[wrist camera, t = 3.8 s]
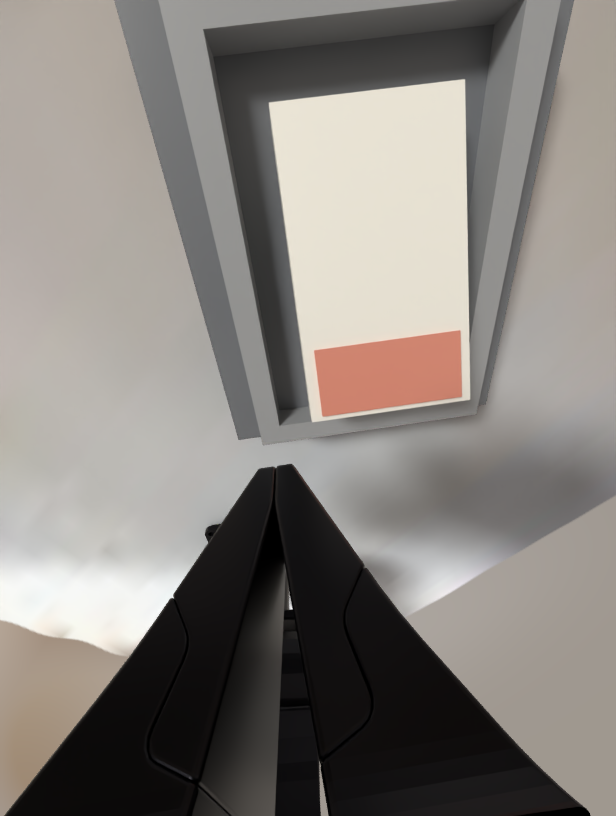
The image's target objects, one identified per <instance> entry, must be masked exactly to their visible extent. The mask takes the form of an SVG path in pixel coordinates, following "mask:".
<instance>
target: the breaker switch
mask: <svg viewBox="0 0 616 816" xmlns="http://www.w3.org/2000/svg"><path fill="white" fill-rule="evenodd" d="M269 111H270V121H271V131H272V139H273V146H274V153H275V161H276V168H277V175H278V182H279V190H280V197H281V204H282V212H283V219H284V226H285V234H286V241H287V248H288V256H289V263H290V270H291V278H292V285H293V292H294V300H295V307H296V314H297V322H298V329H299V336H300V344H301V351H302V358H303V366H304V373H305V380H306V388H307V395H308V402H309V410H310V416H311V420H312V422H319V421H326V420H333V419H340V418H347V417H354V416H361V415H368V414H375V413H382V412H389V411H396V410H402V409H409V408H416V407H423V406H430V405H437V404H444V403H451V402H458V401H465V400H470V349H469V289H468V229H467V168H466V108H465V79H462V80H453V81H445V82H436V83H428V84H420V85H411V86H403V87H395V88H386V89H378V90H370V91H361V92H353V93H344V94H336V95H328V96H319V97H311V98H303V99H294V100H286V101H278V102H269Z"/></svg>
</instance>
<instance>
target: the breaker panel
mask: <svg viewBox="0 0 616 816" xmlns="http://www.w3.org/2000/svg"><path fill="white" fill-rule="evenodd" d="M114 1H115V5H116V8H117V12H118V15H119V19H120V22H121V26H122V29H123V33H124V37H125V40H126V44H127V47H128V51H129V54H130V58H131V61H132V65H133V68H134V72H135V75H136V79H137V82H138V86H139V90H140V93H141V97H142V100H143V104H144V107H145V111H146V114H147V118H148V121H149V125H150V128H151V132H152V135H153V139H154V143H155V146H156V150H157V153H158V157H159V160H160V164H161V167H162V171H163V174H164V178H165V181H166V185H167V188H168V192H169V195H170V199H171V203H172V206H173V210H174V213H175V217H176V220H177V224H178V227H179V231H180V234H181V238H182V241H183V245H184V248H185V252H186V256H187V259H188V263H189V266H190V270H191V273H192V277H193V280H194V284H195V287H196V291H197V294H198V298H199V301H200V305H201V309H202V312H203V316H204V319H205V323H206V326H207V330H208V333H209V337H210V340H211V344H212V347H213V351H214V354H215V358H216V361H217V365H218V369H219V372H220V376H221V379H222V383H223V386H224V390H225V393H226V397H227V400H228V404H229V407H230V411H231V414H232V418H233V422H234V425H235V429H236V432H237V436H238V439H239V440H242V439H248V438H255V437H261V439H262V444H263V445H269V444H275V443H282V442H289V441H296V440H303V439H310V438H317V437H324V436H331V435H338V434H344V433H351V432H358V431H365V430H372V429H379V428H386V427H393V426H400V425H407V424H414V423H420V422H427V421H434V420H441V419H448V418H455V417H462V416H469V415H476V414H477V409H478V405H484V404H486V401H487V396H488V391H489V387H490V382H491V378H492V373H493V369H494V364H495V359H496V355H497V350H498V346H499V341H500V336H501V332H502V327H503V323H504V318H505V314H506V309H507V304H508V300H509V295H510V291H511V286H512V282H513V277H514V272H515V268H516V263H517V259H518V254H519V250H520V245H521V240H522V236H523V231H524V227H525V222H526V217H527V213H528V208H529V204H530V199H531V195H532V190H533V185H534V181H535V176H536V172H537V167H538V163H539V158H540V153H541V149H542V144H543V140H544V135H545V131H546V126H547V121H548V117H549V112H550V108H551V103H552V98H553V94H554V89H555V85H556V80H557V76H558V71H559V66H560V62H561V57H562V53H563V48H564V44H565V39H566V34H567V30H568V25H569V21H570V16H571V12H572V7H573V2H574V0H114ZM462 79H465V108H466V168H467V229H468V289H469V349H470V400H465V401H458V402H451V403H444V404H437V405H430V406H423V407H416V408H409V409H402V410H396V411H389V412H382V413H375V414H368V415H361V416H354V417H347V418H340V419H333V420H326V421H319V422H312V420H311V416H310V410H309V402H308V395H307V388H306V380H305V373H304V366H303V358H302V351H301V344H300V336H299V329H298V322H297V314H296V307H295V300H294V292H293V285H292V278H291V270H290V263H289V256H288V248H287V241H286V234H285V226H284V219H283V212H282V204H281V197H280V190H279V182H278V175H277V168H276V161H275V153H274V146H273V139H272V131H271V121H270V111H269V102H278V101H286V100H294V99H303V98H311V97H319V96H328V95H336V94H344V93H353V92H361V91H370V90H378V89H386V88H395V87H403V86H411V85H420V84H428V83H436V82H445V81H453V80H462Z"/></svg>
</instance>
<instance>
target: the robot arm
mask: <svg viewBox="0 0 616 816" xmlns="http://www.w3.org/2000/svg"><path fill="white" fill-rule="evenodd" d="M205 536H206V538H207V541H208V544H207V546H206V547H205V549H204V550H203V551H202V553H201V554H200V556H199V557H198V559H197V560H196V562H195V563H194V565H193V566H192V568H191V569H190V571H189V572H188V574H187V575H186V576H185V578H184V579H183V581H182V582H181V584H180V585H179V587H178V588H177V590H176V591H175V593H174V594H173V597H174V598H171V599H170V600H169V601H168V603H167V604H166V606H165V607H164V609H163V610H162V612H161V613H160V614H159V616H158V617H157V619H156V620H155V622H154V623H153V625H152V626H151V627H150V629H149V630H148V632H147V633H146V634H145V636H144V637H143V639H142V640H141V641H140V643H139V644H138V646H137V647H136V648H135V650H134V651H133V653H132V654H131V655H130V657H129V658H128V659H127V661H126V662H125V663H124V665H123V666H122V667H121V668H120V670H119V671H118V672H117V674H116V675H115V676H114V677H113V679H112V680H111V681H110V683H109V684H108V685H107V687H106V688H105V689H104V691H103V692H102V693H101V694H100V696H99V697H98V698H97V700H96V701H95V702H94V703H93V705H92V706H91V707H90V708H89V710H88V711H87V712H86V714H85V715H84V716H83V717H82V718H81V720H80V721H79V722H78V723H77V725H76V726H75V727H74V728H73V730H72V731H71V732H70V734H69V735H68V736H67V737H66V739H65V740H64V741H63V742H62V744H61V745H60V746H59V747H58V749H57V750H56V751H55V752H54V754H53V755H52V756H51V758H50V759H49V760H48V761H47V763H46V764H45V765H44V766H43V767H42V769H41V770H40V771H39V772H38V774H37V775H36V776H35V778H34V779H33V780H32V781H31V783H30V784H29V785H28V786H27V788H26V789H25V790H24V791H23V793H22V794H21V795H20V796H19V798H18V799H17V800H16V801H15V803H14V804H13V805H12V806H11V808H10V809H9V810H8V811H7V813H6V814H5V815H4V816H321V812H320V785H319V784H320V782H319V761H320V764H321V773H322V779H323V785H324V791H325V797H326V803H327V808H328V815H329V816H590V813H589V811H588V810H587V809H586V808H585V807H583V806H582V805H581V804H580V803H578V802H577V801H576V800H575V799H574V798H573V797H571V796H570V795H569V794H568V793H567V792H566V791H565V790H563V789H562V788H561V787H560V786H559V785H558V784H557V783H556V782H555V781H554V780H553V779H552V778H551V777H550V776H548V775H547V774H546V773H545V772H544V771H543V770H542V769H541V768H540V767H539V766H538V765H537V764H536V763H535V762H534V761H533V760H532V759H531V758H530V757H529V756H528V755H527V754H526V753H525V752H524V751H523V750H522V749H521V748H520V747H519V746H518V745H517V744H516V743H515V741H514V740H513V739H512V738H511V737H510V736H509V735H508V734H507V733H506V732H505V731H504V730H503V728H501V726H500V725H499V724H498V723H497V722H496V721H495V720H494V718H493V717H492V716H491V715H490V714H489V713H488V712H487V711H486V710H485V709H484V707H483V706H482V705H481V704H480V703H479V702H478V701H477V699H476V698H475V697H474V696H473V695H472V694H471V693H470V692H469V691H468V689H467V688H466V687H465V686H464V685H463V684H462V683H461V682H460V680H459V679H458V678H457V677H456V676H455V675H454V674H453V673H452V671H451V670H450V669H449V668H448V667H447V666H446V665H445V664H444V663H443V661H442V660H441V659H440V658H439V657H438V656H437V655H436V654H435V652H434V651H433V650H432V649H431V648H430V647H429V646H428V645H427V644H426V642H425V641H424V640H423V639H422V638H421V637H420V635H419V634H418V633H417V632H416V631H415V630H414V628H413V627H412V626H411V625H410V624H409V622H408V621H407V620H406V619H405V618H404V617H403V615H402V614H401V613H400V612H399V611H398V609H397V608H396V607H395V605H394V604H393V603H392V601H391V600H390V599H389V597H388V596H387V595H386V594H385V592H384V591H383V590H382V588H381V587H380V586H379V584H378V583H377V581H376V580H375V579H374V577H373V576H372V574H371V573H370V572H369V570H368V569H367V568H365V566H364V564H363V562H362V561H361V559H360V558H359V557H358V555H357V554H356V552H355V551H354V550H353V548H352V547H351V545H350V544H349V542H348V541H347V540H346V538H345V537H344V535H343V534H342V533H341V531H340V530H339V528H338V527H337V526H336V524H335V523H334V521H333V520H332V519H331V517H330V516H329V514H328V513H327V512H326V510H325V509H324V507H323V506H322V505H321V503H320V502H319V500H318V499H317V498H316V496H315V495H314V493H313V492H312V490H311V489H310V488H309V486H308V485H307V483H306V482H305V481H304V479H303V478H302V476H301V475H300V474H299V472H298V471H297V469H296V468H295V467H294V465H292V464H287V465H280V466H277V468H275V467H267V468H261V469H259V470H258V471H257V472H256V473H255V475H254V476H253V478H252V479H251V481H250V482H249V484H248V485H247V487H246V488H245V490H244V491H243V493H242V494H241V496H240V497H239V498H238V500H237V501H236V503H235V504H234V506H233V507H232V509H231V510H230V512H229V513H228V515H227V516H226V518H225V519H224V521H223V522H222V524H220V525H214V526H209V527H207V528H206V532H205ZM288 585H289V587H288ZM289 591H290V597H291V602H292V608H293V610H289Z"/></svg>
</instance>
